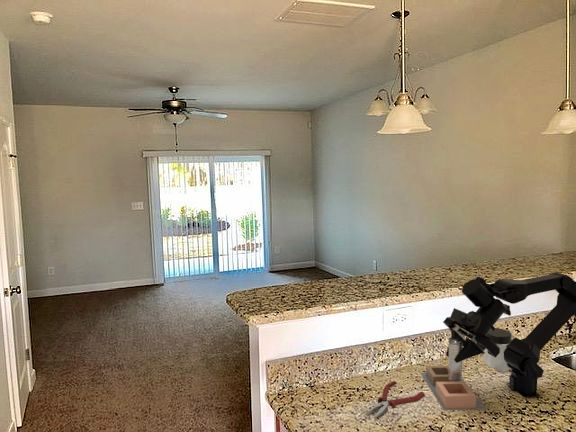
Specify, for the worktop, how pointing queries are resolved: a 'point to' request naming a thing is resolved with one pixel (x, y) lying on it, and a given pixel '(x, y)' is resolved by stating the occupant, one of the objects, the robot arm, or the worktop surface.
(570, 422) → the worktop surface
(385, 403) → the pliers
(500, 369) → the jar
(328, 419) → the worktop surface
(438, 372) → the dock plate
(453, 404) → the socket
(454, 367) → the peg
